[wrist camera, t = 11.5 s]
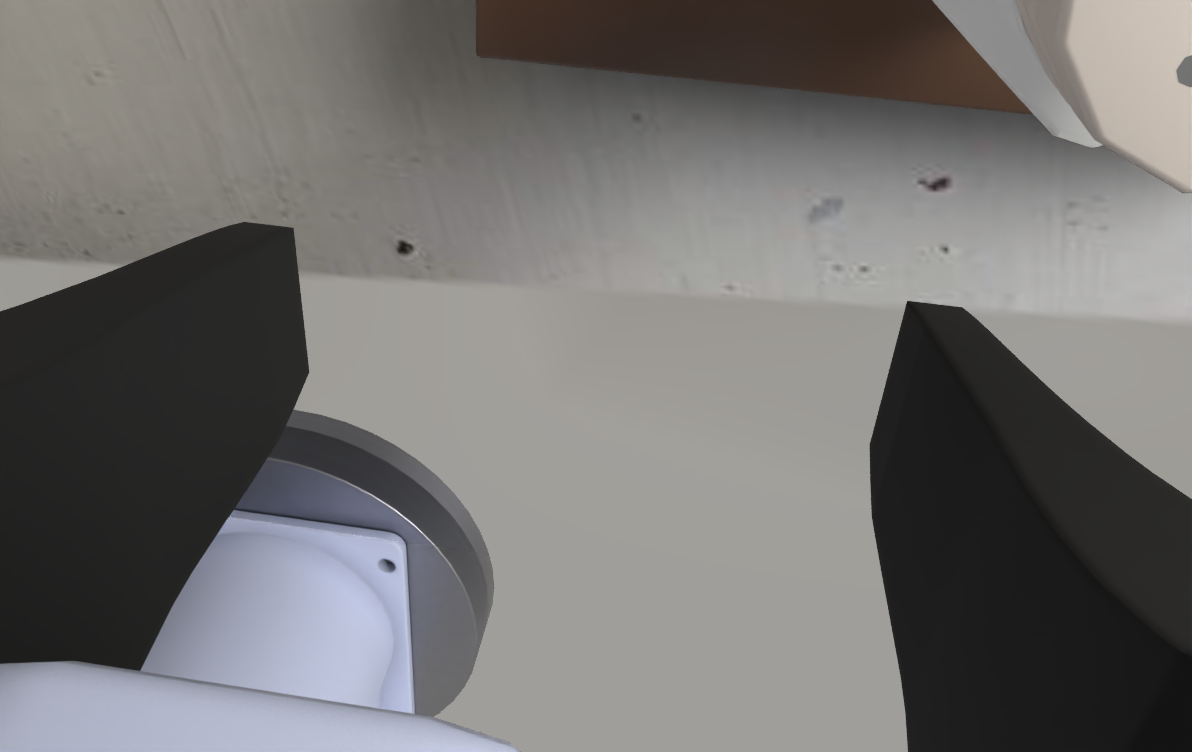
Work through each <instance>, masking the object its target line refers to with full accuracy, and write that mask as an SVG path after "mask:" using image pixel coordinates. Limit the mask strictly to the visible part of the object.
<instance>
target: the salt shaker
mask: <svg viewBox="0 0 1192 752" xmlns="http://www.w3.org/2000/svg"><path fill="white" fill-rule="evenodd" d="M932 1H933V2H934V3H935V4H936V5H937V7H938V8H939V9H940V10H941V11H942V12H943V13H944V15H945V16H946V17H947V18H948V19H949V20H950V21H951V23H952V24H953V25H954V26H955V27H956V28H957V29H958V31H959V32H960V33H961V34H962V35H963V36H964V37H965V39H966V40H967V41H968V42H969V43H970V44H971V45H972V47H973V48H974V49H975V50H976V51H977V52H978V53H979V54H980V56H981V57H982V58H983V59H984V60H985V61H986V62H987V63H988V64H989V66H990V67H991V68H992V69H993V70H994V71H995V72H996V73H997V75H998V76H999V77H1000V78H1001V79H1002V80H1003V81H1004V82H1005V83H1006V85H1007V86H1008V87H1009V88H1010V89H1011V90H1012V91H1013V92H1014V93H1015V95H1016V96H1017V97H1018V98H1019V99H1020V100H1021V101H1022V102H1023V103H1024V104H1025V105H1026V107H1027V108H1028V109H1029V110H1030V111H1031V112H1032V113H1033V114H1034V115H1035V116H1036V117H1037V118H1038V120H1039V121H1040V122H1041V123H1042V124H1043V125H1044V126H1045V127H1046V128H1047V129H1048V130H1049V131H1050V133H1051V134H1052V135H1053V136H1056V137H1059V138H1062V139H1065V140H1069V141H1072V142H1075V143H1078V144H1081V145H1084V146H1087V147H1091V148H1093V147H1098V146H1102V145H1104V146H1105V147H1107V148H1109V149H1110V150H1112V151H1114V152H1115V153H1117V154H1119V155H1120V156H1122V157H1124V158H1125V159H1127V160H1129V161H1130V162H1132V163H1134V164H1135V165H1137V166H1139V167H1140V168H1142V169H1144V170H1145V171H1147V172H1149V173H1150V174H1152V175H1154V176H1155V177H1157V178H1159V179H1160V180H1162V181H1164V182H1165V183H1167V184H1169V185H1170V186H1172V187H1173V188H1175V189H1177V190H1178V191H1180V192H1182V193H1192V0H932Z"/></svg>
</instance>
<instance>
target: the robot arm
mask: <svg viewBox="0 0 1192 752" xmlns="http://www.w3.org/2000/svg"><path fill="white" fill-rule="evenodd" d="M308 374H309V366H308V357H307V349H306V339H305V330H304V320H303V311H302V302H301V293H300V284H299V274H298V265H297V256H296V247H295V238H294V229H293V228H290V227H282V226H274V225H265V224H257V223H248V222H242V223H238V224H234V225H230V226H227V227H224V228H220V229H218V230H215V231H212V232H209V233H206V234H204V235H201V236H198V237H195V238H193V239H190V240H188V241H185V242H183V243H180V244H178V245H175V246H173V247H170V248H168V249H165V250H163V251H160V252H158V253H155V254H153V255H150V256H148V257H146V258H143V259H141V260H138V261H136V262H133V263H131V264H128V265H126V266H123V267H121V268H118V269H116V270H113V271H111V272H108V273H106V274H103V275H101V276H98V277H96V278H93V279H90V280H87V281H85V282H82V283H80V284H77V285H74V286H71V287H68V288H66V289H63V290H60V291H58V292H55V293H52V294H49V295H46V296H44V297H41V298H38V299H35V300H33V301H30V302H27V303H24V304H22V305H19V306H16V307H13V308H10V309H7V310H3V311H1V312H0V752H520V751H519V750H518V749H517V748H515V747H514V746H513V745H512V744H511V743H509V742H507V741H504V740H501V739H498V738H495V737H492V736H489V735H486V734H483V733H480V732H477V731H474V730H471V729H468V728H465V727H462V726H459V725H456V724H453V723H450V722H447V721H444V720H441V719H438V718H435V717H431V716H424V715H418V714H415V701H414V682H413V664H412V645H411V626H410V607H409V589H408V570H407V551H406V545H405V542H404V541H403V540H402V538H401V537H399V536H398V535H396V534H394V533H390V532H385V531H378V530H371V529H364V528H357V527H350V526H343V525H336V524H329V523H322V522H315V521H308V520H301V519H294V518H287V517H280V516H273V515H266V514H259V513H252V512H245V511H237V510H234V508H235V507H236V505H237V504H238V502H239V501H240V499H241V498H242V496H243V494H244V493H245V491H246V490H247V488H248V487H249V485H250V484H251V482H252V481H253V479H254V478H255V476H256V474H257V473H258V471H259V470H260V468H261V467H262V465H263V464H264V462H265V460H266V459H267V457H268V456H269V454H270V453H271V451H272V449H273V448H274V446H275V445H276V443H277V441H278V440H279V438H280V437H281V435H282V432H283V430H284V428H285V426H286V424H287V422H288V420H289V418H290V415H291V413H292V411H293V409H294V407H295V404H296V402H297V400H298V397H299V395H300V393H301V390H302V388H303V385H304V383H305V381H306V378H307V376H308ZM870 475H871V476H870V481H871V506H872V519H873V526H874V532H875V538H876V543H877V549H878V554H879V560H880V565H881V571H882V577H883V583H884V588H885V593H886V599H887V604H888V610H889V615H890V620H891V626H892V632H893V637H894V642H895V648H896V653H897V658H898V664H899V670H900V675H901V682H902V689H903V697H904V705H905V713H906V727H907V741H908V752H1192V499H1191V498H1189V497H1188V496H1186V495H1185V494H1183V493H1182V492H1180V491H1179V490H1177V489H1176V488H1174V487H1173V486H1171V485H1170V484H1169V483H1167V482H1166V481H1164V480H1163V479H1161V478H1160V477H1158V476H1157V475H1155V474H1154V473H1152V472H1151V471H1150V470H1148V469H1147V468H1145V467H1144V466H1143V465H1141V464H1140V463H1139V462H1137V461H1136V460H1135V459H1133V458H1132V457H1131V456H1129V455H1128V454H1126V453H1125V452H1124V451H1123V450H1122V449H1120V448H1119V447H1118V446H1117V445H1115V444H1114V443H1113V442H1112V441H1111V440H1109V439H1108V438H1107V437H1106V436H1104V435H1103V434H1102V433H1100V432H1099V431H1098V430H1097V429H1096V428H1095V427H1093V426H1092V425H1091V424H1090V423H1088V422H1087V421H1086V420H1085V419H1084V418H1082V417H1081V416H1080V415H1079V414H1078V413H1077V412H1076V411H1074V410H1073V409H1072V408H1071V407H1070V406H1069V405H1067V404H1066V403H1065V402H1064V401H1063V400H1062V399H1061V398H1060V397H1059V396H1057V395H1056V394H1055V393H1054V392H1053V391H1052V390H1051V389H1050V388H1048V387H1047V386H1046V385H1045V384H1044V383H1043V382H1042V381H1041V380H1040V379H1039V378H1038V377H1037V376H1036V375H1035V374H1034V373H1033V372H1031V371H1030V370H1029V369H1028V368H1027V367H1026V366H1025V365H1024V364H1023V363H1022V362H1021V361H1020V360H1019V359H1018V358H1017V357H1016V356H1015V355H1014V354H1013V353H1012V352H1011V351H1010V350H1008V349H1007V348H1006V347H1005V346H1004V345H1003V344H1002V343H1001V342H1000V341H999V340H998V339H997V338H996V337H995V336H994V335H993V334H992V333H991V332H990V331H989V330H988V329H987V328H985V327H984V326H983V325H982V324H981V323H980V322H979V321H978V320H977V319H976V318H975V317H973V316H972V315H971V314H970V313H969V312H967V311H966V310H965V309H964V308H962V307H954V306H945V305H937V304H928V303H920V302H912V301H907V304H906V308H905V312H904V316H903V320H902V324H901V327H900V331H899V335H898V339H897V342H896V346H895V350H894V354H893V358H892V362H891V366H890V369H889V373H888V377H887V381H886V385H885V388H884V393H883V397H882V400H881V404H880V408H879V411H878V415H877V419H876V423H875V427H874V431H873V435H872V438H871V442H870ZM384 559H387V560H390V561H391V562H393V563H389V562H386V561H385V560H384Z"/></svg>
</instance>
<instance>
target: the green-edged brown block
mask: <svg viewBox="0 0 1192 752" xmlns="http://www.w3.org/2000/svg"><path fill="white" fill-rule="evenodd" d="M476 53H477V56H479V57H483V58H492V59H502V60H511V61H521V62H531V63H540V64H550V65H559V66H569V67H579V68H588V69H598V70H607V71H617V72H627V73H636V74H646V75H655V76H665V77H675V78H684V79H694V80H703V81H713V82H723V83H732V84H742V85H752V86H761V87H771V88H780V89H790V90H800V91H809V92H819V93H828V94H838V95H848V96H857V97H867V98H876V99H886V100H896V101H905V102H915V103H924V104H934V105H944V106H953V107H963V108H973V109H982V110H992V111H1001V112H1011V113H1021V114H1030V115H1034V114H1033V113H1032V112H1031V111H1030V110H1029V109H1028V108H1027V107H1026V105H1025V104H1024V103H1023V102H1022V101H1021V100H1020V99H1019V98H1018V97H1017V96H1016V95H1015V93H1014V92H1013V91H1012V90H1011V89H1010V88H1009V87H1008V86H1007V85H1006V83H1005V82H1004V81H1003V80H1002V79H1001V78H1000V77H999V76H998V75H997V73H996V72H995V71H994V70H993V69H992V68H991V67H990V66H989V64H988V63H987V62H986V61H985V60H984V59H983V58H982V57H981V56H980V54H979V53H978V52H977V51H976V50H975V49H974V48H973V47H972V45H971V44H970V43H969V42H968V41H967V40H966V39H965V37H964V36H963V35H962V34H961V33H960V32H959V31H958V29H957V28H956V27H955V26H954V25H953V24H952V23H951V21H950V20H949V19H948V18H947V17H946V16H945V15H944V13H943V12H942V11H941V10H940V9H939V8H938V7H937V5H936V4H935V3H934V2H933V1H932V0H476Z"/></svg>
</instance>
